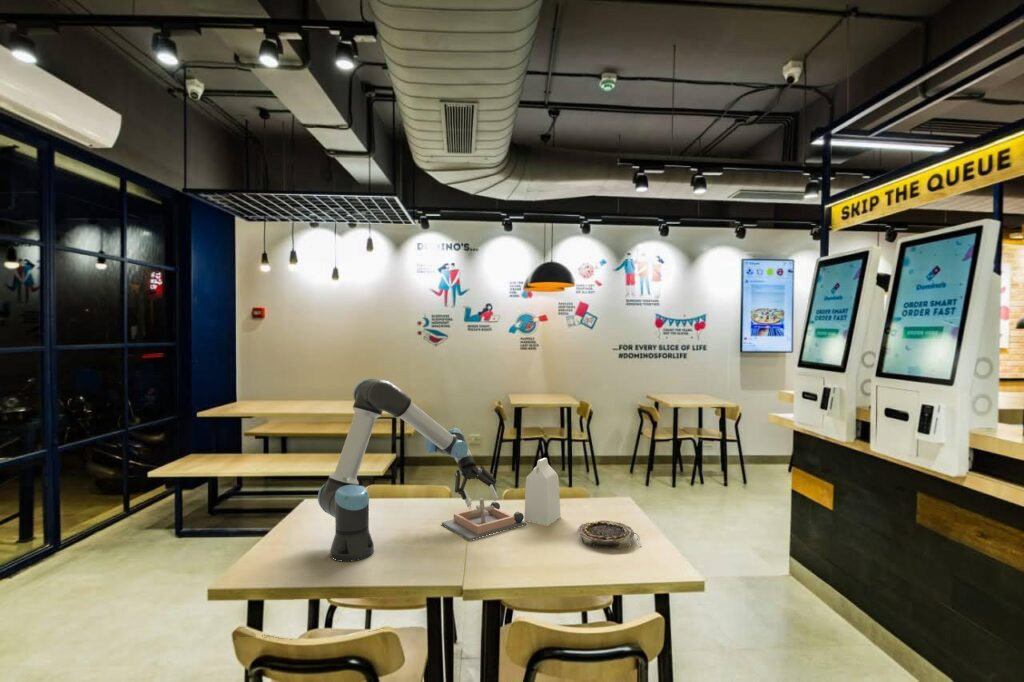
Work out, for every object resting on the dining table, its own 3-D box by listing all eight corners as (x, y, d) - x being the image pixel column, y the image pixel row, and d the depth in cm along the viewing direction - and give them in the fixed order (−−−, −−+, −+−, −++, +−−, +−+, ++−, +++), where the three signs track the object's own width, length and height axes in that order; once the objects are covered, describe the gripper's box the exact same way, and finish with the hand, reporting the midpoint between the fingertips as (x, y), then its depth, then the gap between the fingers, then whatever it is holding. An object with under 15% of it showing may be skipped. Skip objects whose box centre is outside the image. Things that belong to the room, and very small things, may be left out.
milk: (548, 526, 211) (547, 463, 211) (524, 520, 217) (524, 460, 217) (560, 517, 221) (560, 458, 221) (537, 512, 227) (537, 455, 227)
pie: (642, 558, 180) (642, 544, 180) (565, 552, 186) (565, 539, 186) (640, 529, 207) (640, 517, 207) (573, 525, 213) (573, 513, 213)
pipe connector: (468, 521, 215) (466, 498, 214) (489, 515, 219) (487, 493, 219) (477, 529, 206) (474, 504, 205) (499, 523, 210) (497, 499, 210)
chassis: (469, 541, 195) (469, 528, 195) (441, 524, 213) (441, 512, 213) (526, 524, 212) (526, 512, 212) (495, 510, 230) (495, 499, 230)
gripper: (484, 460, 235) (503, 501, 223) (437, 468, 220) (454, 512, 208) (491, 451, 231) (510, 492, 219) (443, 459, 216) (461, 503, 204)
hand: (483, 502), depth 213 cm, fingers open, 13 cm apart
